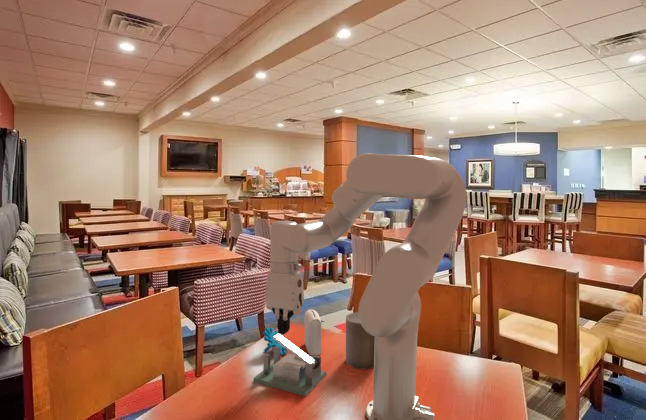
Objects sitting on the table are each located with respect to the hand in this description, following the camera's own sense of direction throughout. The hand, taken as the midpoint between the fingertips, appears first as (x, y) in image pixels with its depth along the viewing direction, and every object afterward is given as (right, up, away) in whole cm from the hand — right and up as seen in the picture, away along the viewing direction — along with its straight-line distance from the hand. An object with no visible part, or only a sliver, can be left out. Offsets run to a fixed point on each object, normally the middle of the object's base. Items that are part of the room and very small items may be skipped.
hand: (283, 332), depth 106 cm
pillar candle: (+22, -12, +10) cm, 27 cm away
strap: (+3, -5, -1) cm, 6 cm away
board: (+2, -13, 0) cm, 13 cm away
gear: (-4, -12, +16) cm, 20 cm away
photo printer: (+7, -11, +18) cm, 23 cm away
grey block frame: (+2, -12, 0) cm, 12 cm away
